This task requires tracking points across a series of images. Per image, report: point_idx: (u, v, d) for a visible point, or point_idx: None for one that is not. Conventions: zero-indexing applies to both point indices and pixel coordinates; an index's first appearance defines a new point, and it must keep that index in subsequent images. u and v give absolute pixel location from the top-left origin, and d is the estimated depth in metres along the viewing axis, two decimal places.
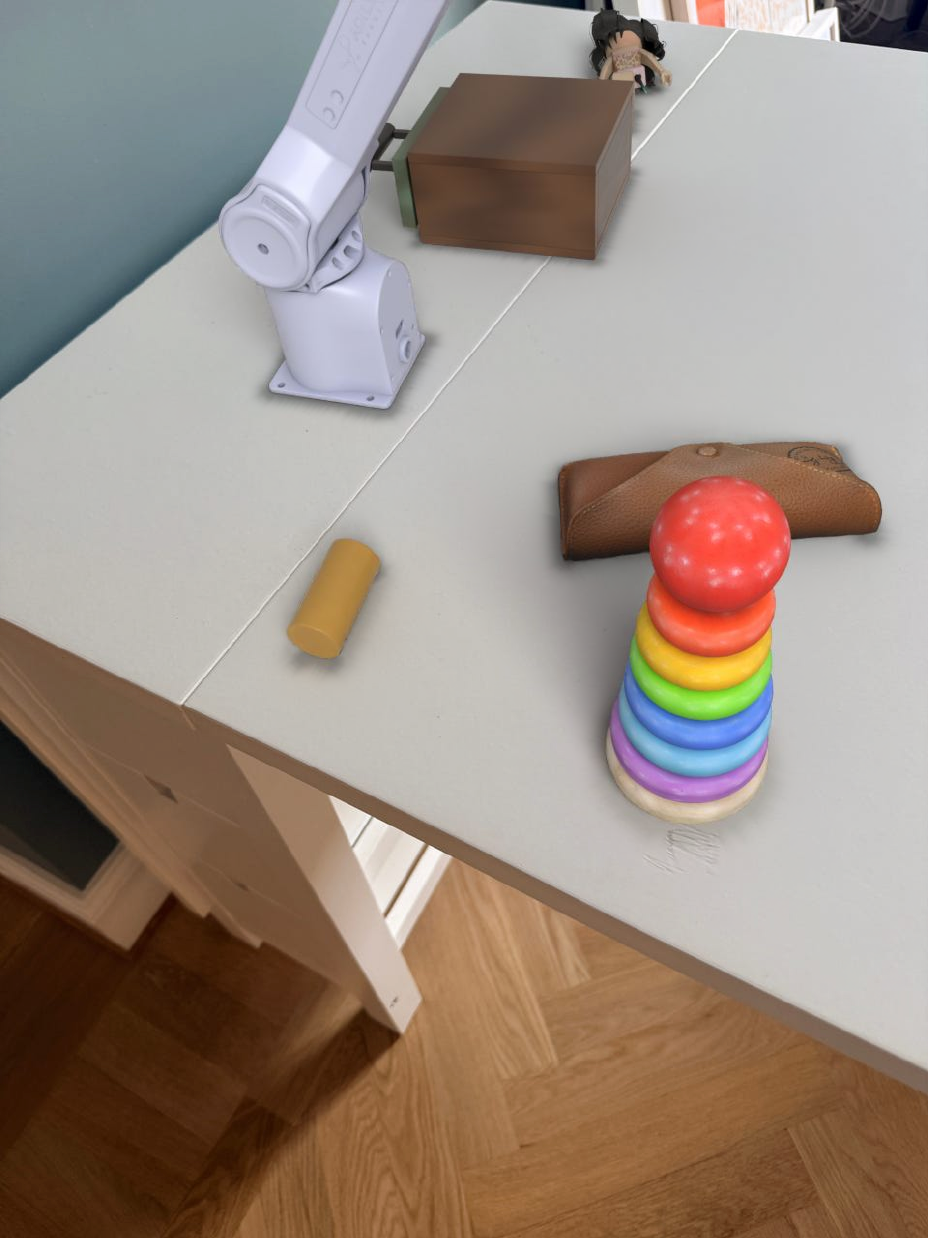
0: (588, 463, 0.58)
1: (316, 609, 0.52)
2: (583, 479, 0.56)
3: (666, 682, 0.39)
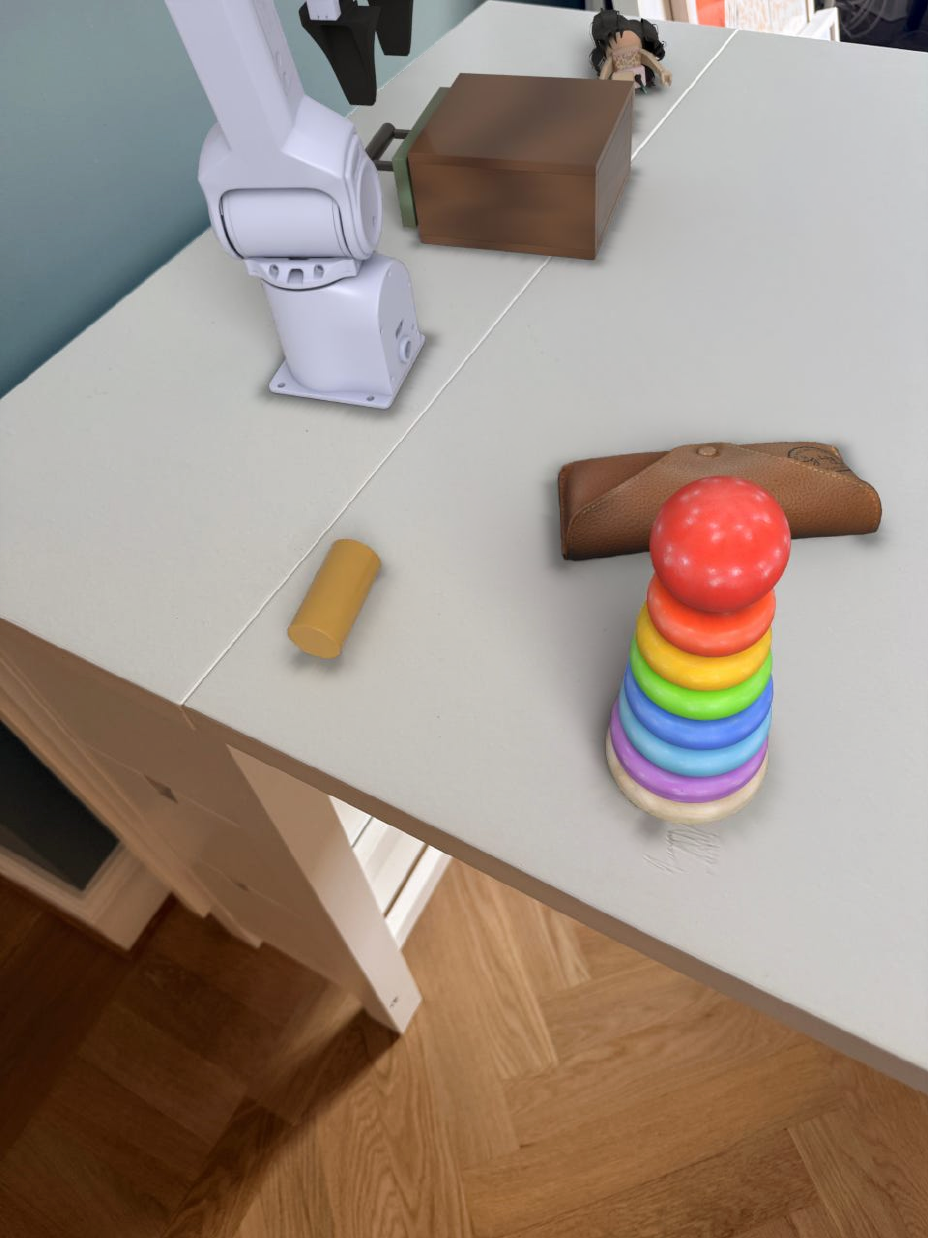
0: (588, 463, 0.58)
1: (318, 609, 0.51)
2: (583, 479, 0.56)
3: (666, 682, 0.39)
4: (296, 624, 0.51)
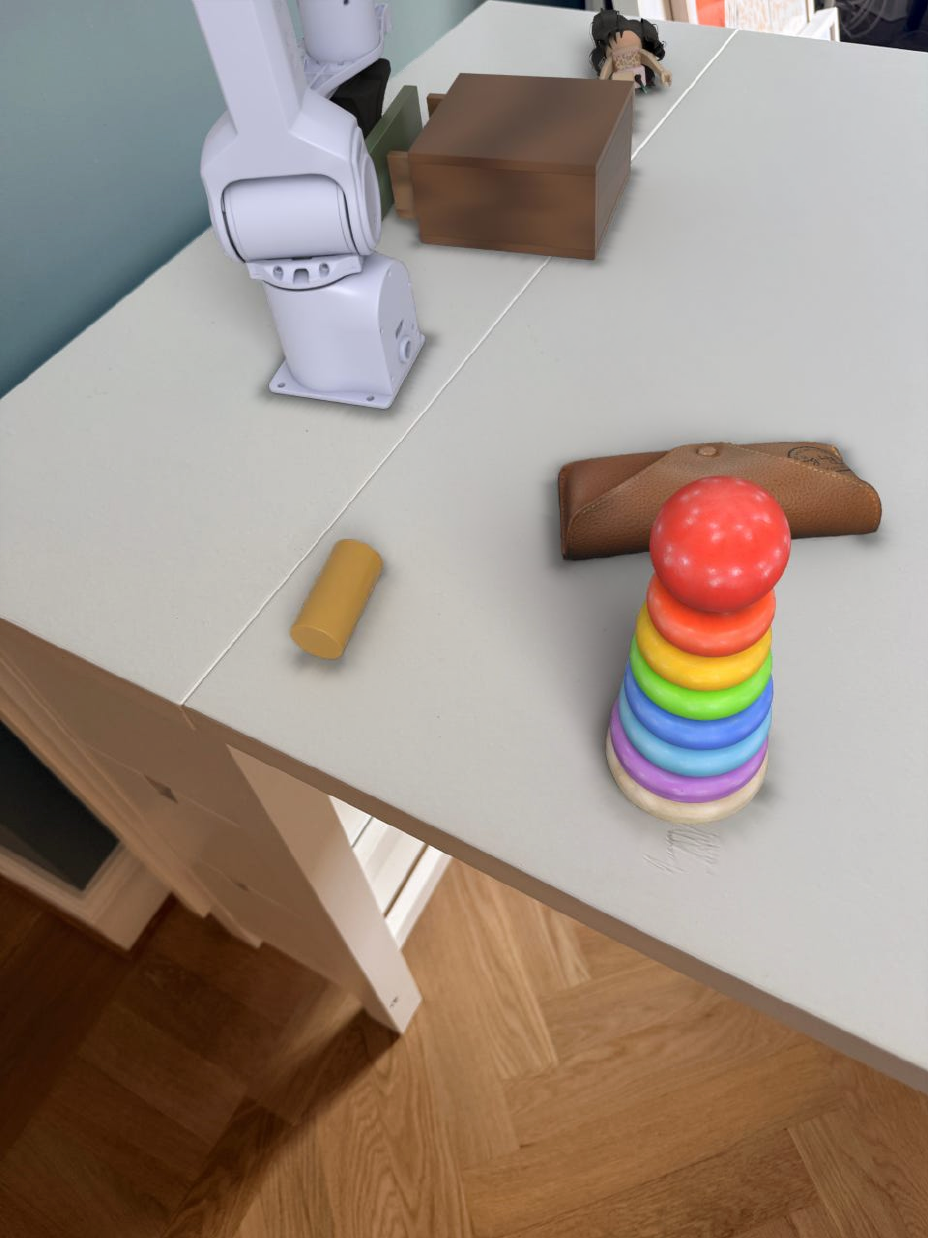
0: (588, 463, 0.58)
1: (322, 611, 0.51)
2: (583, 479, 0.56)
3: (666, 682, 0.39)
4: (300, 624, 0.51)
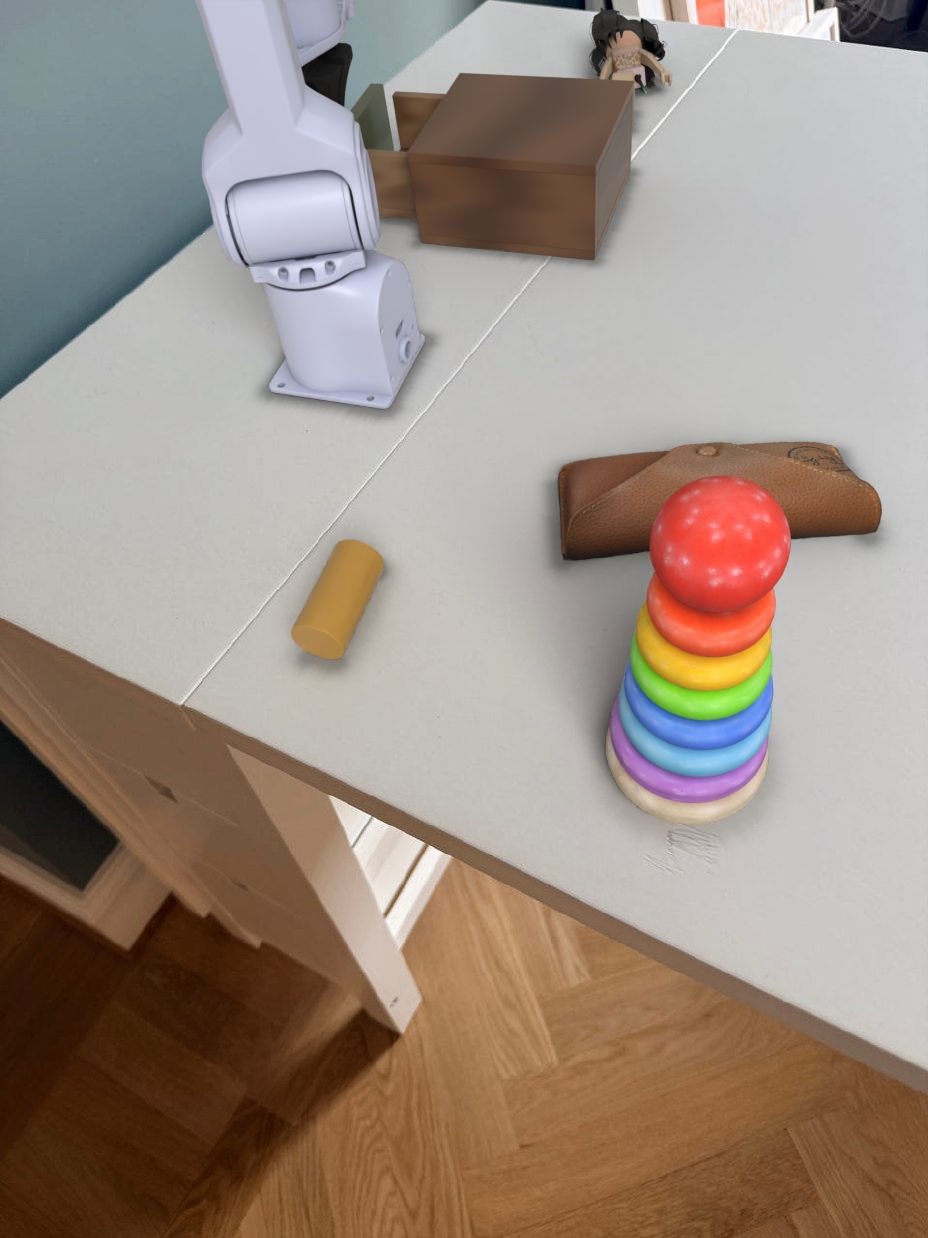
0: (588, 463, 0.58)
1: (325, 611, 0.51)
2: (583, 479, 0.56)
3: (666, 682, 0.39)
4: (303, 625, 0.51)
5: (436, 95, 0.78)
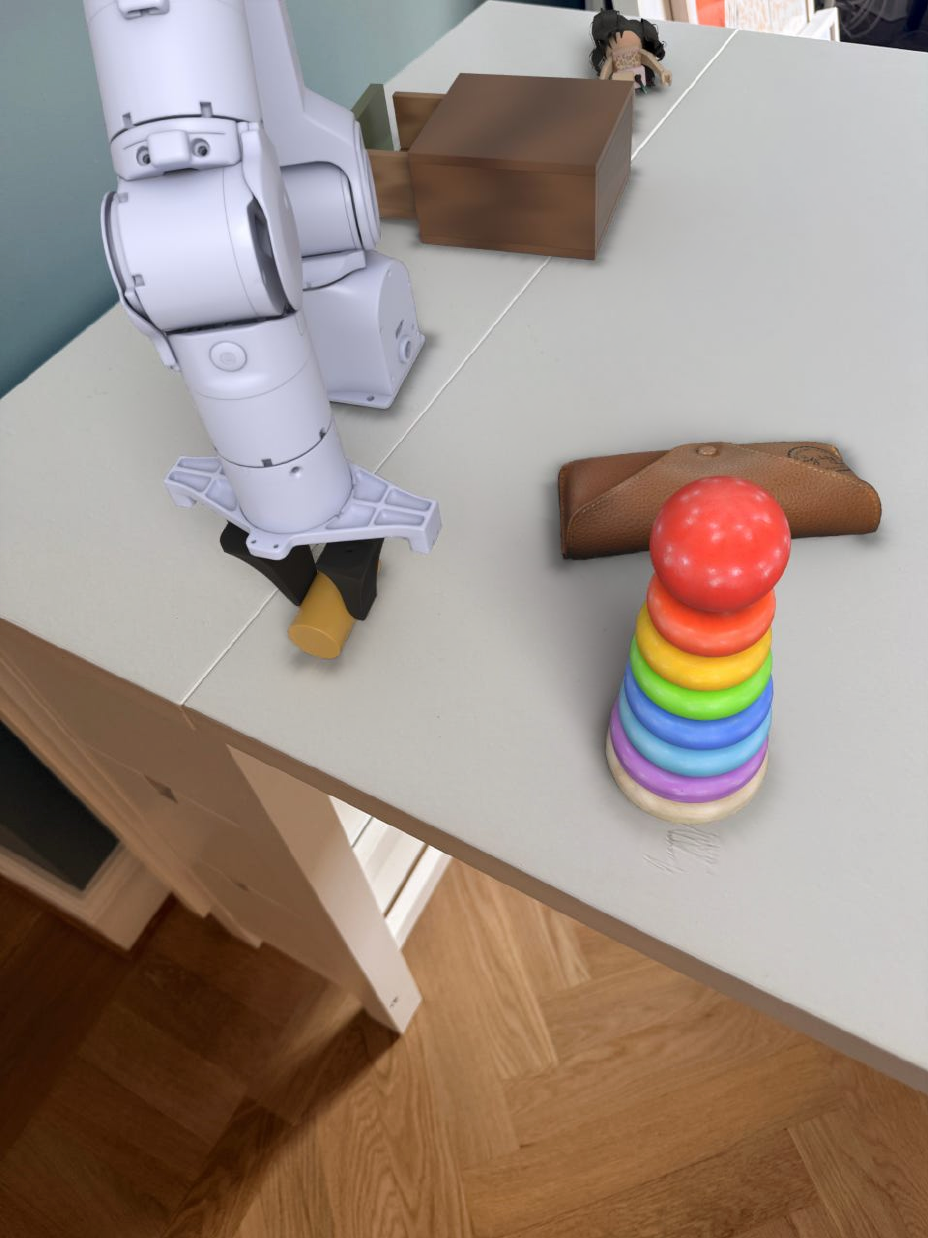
0: (588, 462, 0.58)
1: (317, 610, 0.52)
2: (583, 478, 0.56)
3: (666, 682, 0.39)
4: (296, 624, 0.51)
5: (436, 95, 0.78)
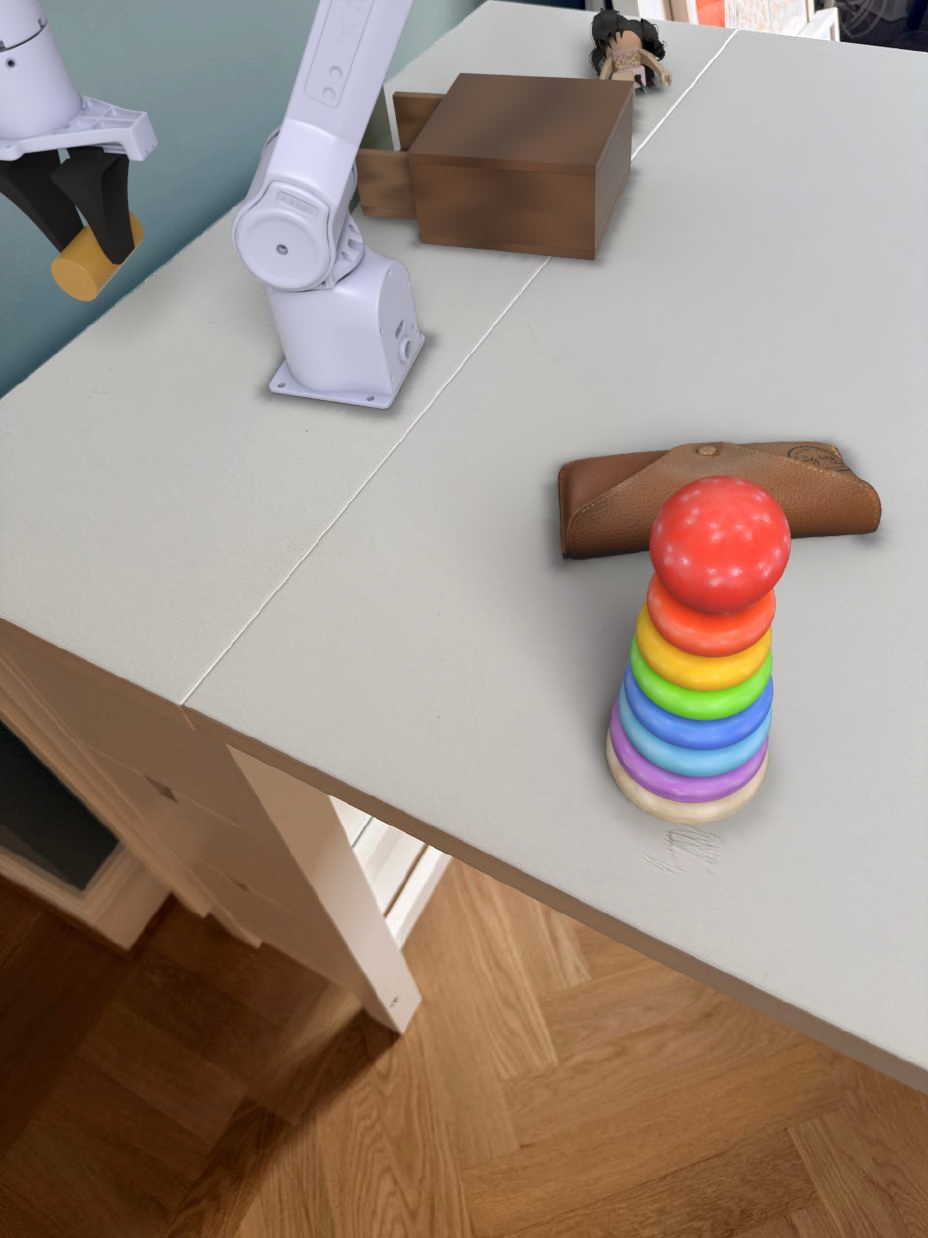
0: (588, 462, 0.58)
1: (74, 248, 0.60)
2: (583, 478, 0.56)
3: (666, 682, 0.39)
4: (55, 259, 0.60)
5: (436, 95, 0.78)
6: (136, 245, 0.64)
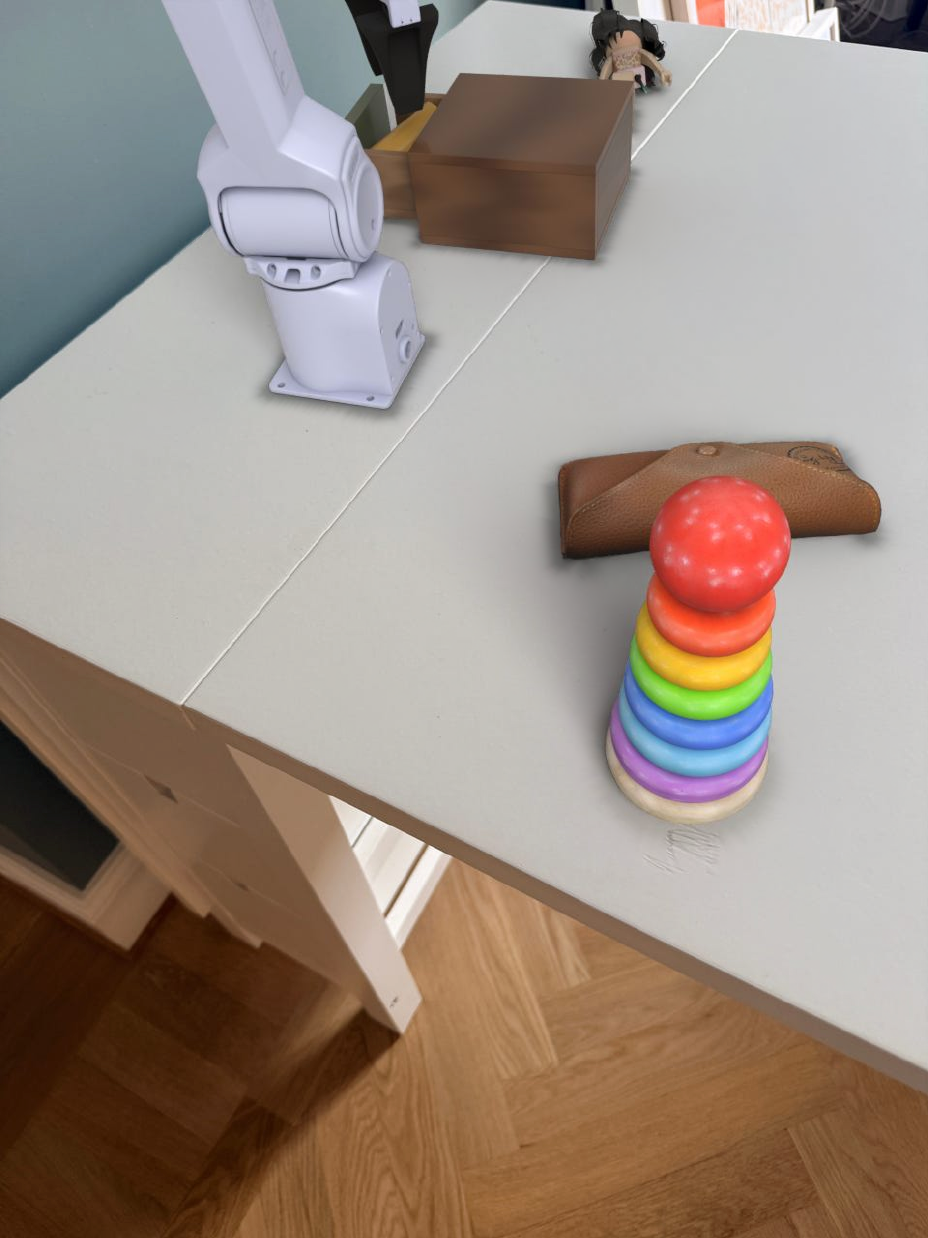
0: (588, 462, 0.58)
1: None
2: (583, 478, 0.56)
3: (666, 682, 0.39)
4: None
5: (436, 95, 0.78)
6: None
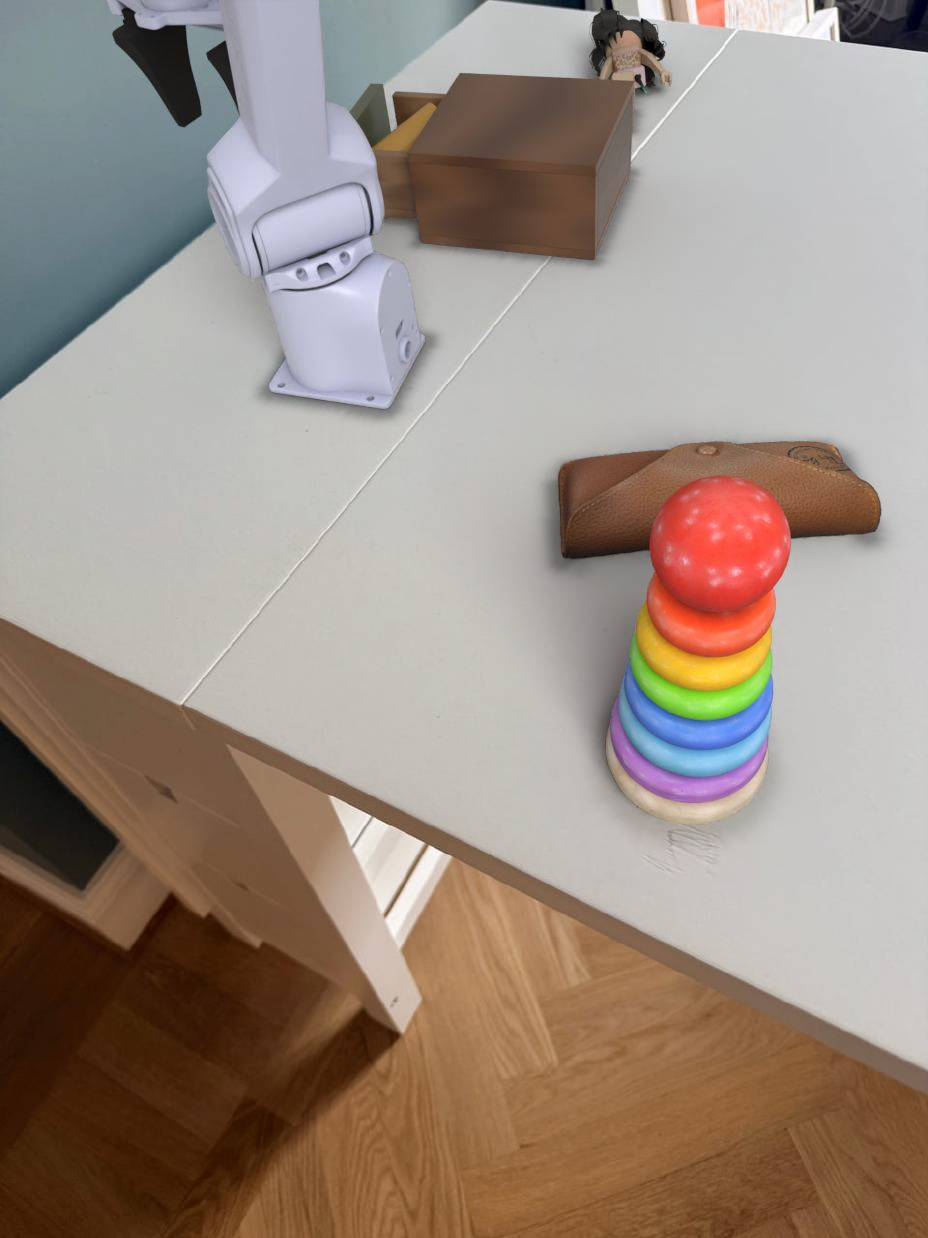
0: (588, 461, 0.58)
1: (379, 141, 0.77)
2: (583, 478, 0.56)
3: (666, 682, 0.39)
4: None
5: (436, 95, 0.78)
6: None
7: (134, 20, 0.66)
